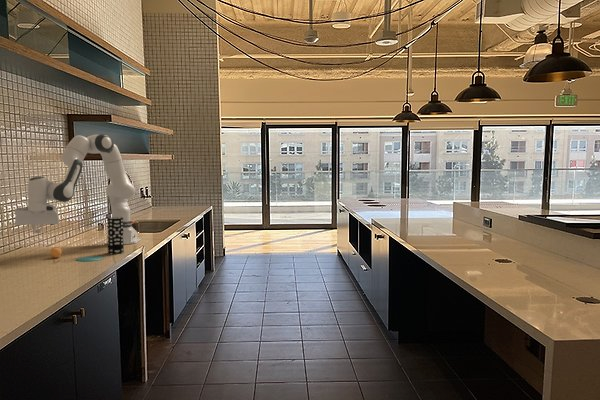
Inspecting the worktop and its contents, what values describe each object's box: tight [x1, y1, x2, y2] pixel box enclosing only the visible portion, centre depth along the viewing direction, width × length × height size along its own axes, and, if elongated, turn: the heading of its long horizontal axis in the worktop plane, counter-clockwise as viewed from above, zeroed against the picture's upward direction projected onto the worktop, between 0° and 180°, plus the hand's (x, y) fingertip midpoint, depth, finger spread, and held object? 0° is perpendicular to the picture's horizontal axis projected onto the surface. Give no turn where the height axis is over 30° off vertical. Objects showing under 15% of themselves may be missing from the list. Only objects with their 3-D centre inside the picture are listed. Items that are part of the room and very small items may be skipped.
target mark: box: [75, 255, 104, 263], centre depth 236 cm, size 13×13×1 cm
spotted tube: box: [106, 216, 125, 255], centre depth 252 cm, size 8×8×20 cm
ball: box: [49, 247, 63, 259], centre depth 237 cm, size 6×6×6 cm
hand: (37, 233), depth 237 cm, fingers closed
